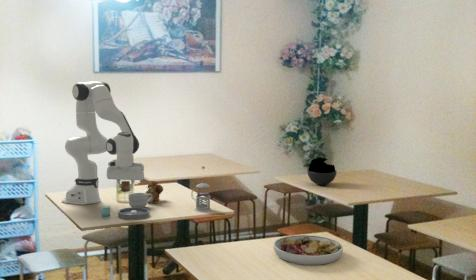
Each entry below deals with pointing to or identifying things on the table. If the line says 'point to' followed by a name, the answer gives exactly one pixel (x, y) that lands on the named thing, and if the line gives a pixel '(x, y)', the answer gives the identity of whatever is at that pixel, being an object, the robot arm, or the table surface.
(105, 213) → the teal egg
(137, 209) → the groove tray
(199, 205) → the french press
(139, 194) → the teacup
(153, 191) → the stuffed squirrel
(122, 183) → the walnut bead
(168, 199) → the table surface
